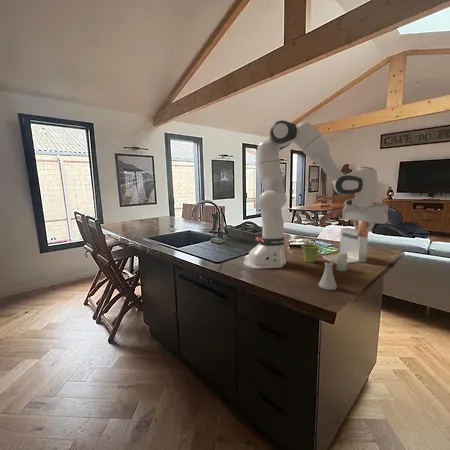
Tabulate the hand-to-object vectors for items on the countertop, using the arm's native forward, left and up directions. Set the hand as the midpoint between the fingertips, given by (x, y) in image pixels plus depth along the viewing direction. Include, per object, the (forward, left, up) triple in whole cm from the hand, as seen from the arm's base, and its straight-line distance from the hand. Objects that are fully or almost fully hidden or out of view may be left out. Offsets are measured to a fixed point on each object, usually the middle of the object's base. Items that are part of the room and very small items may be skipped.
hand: (362, 230), depth 123 cm
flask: (-30, -14, -19) cm, 38 cm away
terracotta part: (0, 0, -3) cm, 3 cm away
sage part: (-10, +1, -19) cm, 21 cm away
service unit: (+3, +14, -19) cm, 24 cm away
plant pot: (-16, +18, -19) cm, 31 cm away
